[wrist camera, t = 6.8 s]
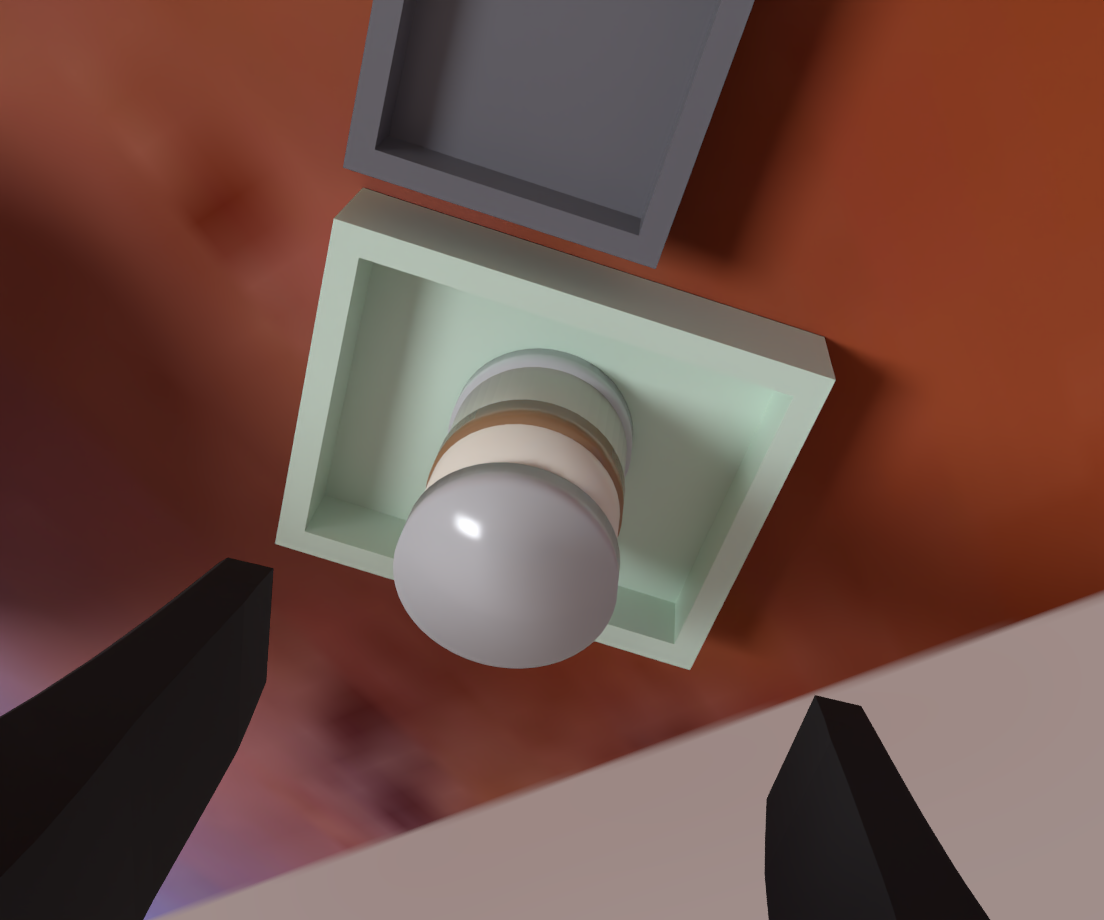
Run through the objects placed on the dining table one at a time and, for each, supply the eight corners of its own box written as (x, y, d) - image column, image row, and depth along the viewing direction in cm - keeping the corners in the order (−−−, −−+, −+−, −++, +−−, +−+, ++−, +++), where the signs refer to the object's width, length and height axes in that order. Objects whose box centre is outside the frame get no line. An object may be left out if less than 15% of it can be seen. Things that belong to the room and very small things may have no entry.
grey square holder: (776, -91, 17) (786, -82, 16) (658, 233, 21) (655, 273, 19) (439, -207, 17) (407, -213, 15) (372, 140, 20) (339, 170, 18)
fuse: (646, 364, 22) (634, 508, 17) (618, 518, 24) (600, 684, 19) (460, 334, 22) (397, 469, 17) (448, 490, 24) (389, 648, 19)
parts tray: (824, 336, 21) (835, 379, 20) (690, 615, 26) (689, 670, 24) (362, 187, 21) (333, 217, 19) (303, 496, 25) (274, 543, 23)
